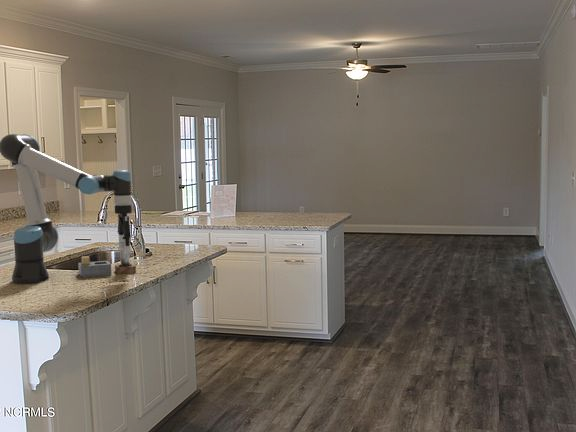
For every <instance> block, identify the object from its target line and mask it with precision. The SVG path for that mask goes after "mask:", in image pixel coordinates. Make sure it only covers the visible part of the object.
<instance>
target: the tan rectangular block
mask: <svg viewBox="0 0 576 432" xmlns="http://www.w3.org/2000/svg"><path fill="white" fill-rule="evenodd" d="M90 262H91V260H90V256H88V255H87V256H85V255H84V256H81V263H82V265H90Z"/></svg>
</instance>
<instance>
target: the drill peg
mask: <svg viewBox="0 0 576 432" xmlns="http://www.w3.org/2000/svg"><path fill="white" fill-rule="evenodd" d="M119 250H120V251H119V253H120V264H121V267H127V266H130V264H131V261H130V253H124V241H121V242H120V249H119Z"/></svg>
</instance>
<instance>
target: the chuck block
mask: <svg viewBox="0 0 576 432" xmlns="http://www.w3.org/2000/svg"><path fill="white" fill-rule="evenodd" d="M77 265H78V275H79V276H80V278H81V279H84V278H97V277H108V276H109V277H110V276H112V274H113V273H112V263H110V262H109V260H102V261H101V260H100V261H98V260H97V261H90V265H82V262H78V264H77Z"/></svg>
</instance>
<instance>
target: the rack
mask: <svg viewBox="0 0 576 432" xmlns="http://www.w3.org/2000/svg"><path fill="white" fill-rule="evenodd" d="M113 272H114V273H115V274H116V276H117V275H127V274H128V275H129V274H138V272H137V267H136V265H135V264H134V263H130V266H127V267H121V263H120V264H115V265H114V271H113Z"/></svg>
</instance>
